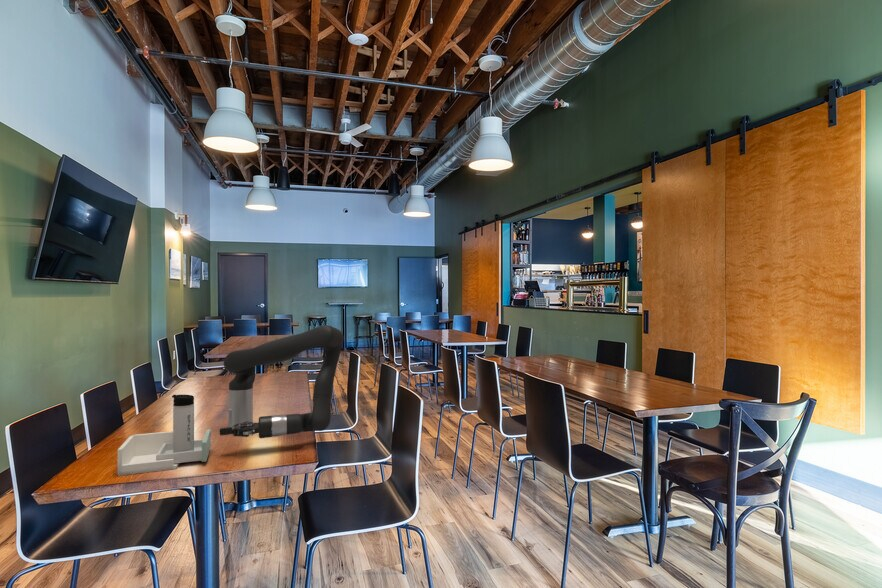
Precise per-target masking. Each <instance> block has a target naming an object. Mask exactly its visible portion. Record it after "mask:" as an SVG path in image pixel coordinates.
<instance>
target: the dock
mask: <svg viewBox="0 0 882 588" xmlns="http://www.w3.org/2000/svg"><path fill="white" fill-rule="evenodd" d="M172 442H173V430H172V431H160V432H150V433H137V434H131V435H129V437H128V438H127V439H126V440H125V441H124V442H123V443H122V445H120V447H119V448H118V449H117V470H116V471H117V472H116V473H117V477H119V476H130V475H136V474H137V475H138V474H144V473H153V472H163V471H170V470H176V469H178V467H179V465H180V463H174V459H166V460H158V461H156V455H157V453H158V452H159V450H160V448H161V447H162V445H163V444H164V443H172Z"/></svg>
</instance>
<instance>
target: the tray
mask: <svg viewBox="0 0 882 588" xmlns="http://www.w3.org/2000/svg"><path fill="white" fill-rule="evenodd" d="M211 448H212V429H211V428H210V429H209V428H208V429H206V430H205V433H204V435H203V438H202V439H194V451H186V452H177V453H173V442H172V443H164V444H163V445H162V447H161V448H160V450H159V452H158V453H157V455H156V461H158V460H166V459H174V463H179V464H180V463H190V462H198V461H201V463H204V462H205V463H206V462H207V461H208V457H209V454H210V450H211Z"/></svg>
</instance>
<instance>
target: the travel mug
mask: <svg viewBox="0 0 882 588" xmlns="http://www.w3.org/2000/svg"><path fill="white" fill-rule="evenodd" d="M171 398H172V399H173V403H172V404H173V405H172V407H173V408H172V431H173V453H177V452H186V451H194V440H195V396H194V395H193V394H172V396H171Z"/></svg>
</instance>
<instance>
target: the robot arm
mask: <svg viewBox="0 0 882 588" xmlns="http://www.w3.org/2000/svg"><path fill="white" fill-rule="evenodd" d="M343 345H344V333H343V332H342V331H341V330H340V329H339V328H336V327H334V326H332V325H329V324H322V325H319V326H317V327H314V328H312V329H309V330H307V331H304V332H301V333H297V334H293V335H289V336H283V337H281V338H278V339H273V340H271V341H267V342H266V343H265V342H264V343H262V344H260V345H257V346H255V347H251V348H245V349H244V348H243V349H237V350H233V351H230V352H229V353H227V354H226V356H225V357H224V360H223V366H224V368H225V370H226V371H228V372H229V373H231V374H232V373H233V374H235V376H234V378H233V379H232V380H231V381H230V382H229V383H228V409H227V410H228V416H227V417H228V427H227V426H226V427H221V428H219V436H228V435H229V436H230V435H232V436H233V437H240V438H248V437H249V436H253V435H255V434H258V439H265V438H267V439H268V438H274V437H280V436H281V437H282V436H287V435H294V434H299V433H303V432H316V431H317V432H318V431H319V432H320V431H321V432H322V431H325V430H326V429H327V428H328V427H329V426H330V424H331V418H332V417H331V415H332V399H333V390H334V381H335V377H336V376H335V375H336V371H337V367H338V362H339V360H340V355H341V353H342V348H343ZM313 349H324V359H323V361H322V365H321V367H320V369H319V371H318V373H317V376H316V377H315V380H314V386H313V394H312V409H311V410H312V411H311V412H307V413H291V414H273V415H272V414H271V415H266V416H265V415H263V416H259V417H258V422H254V383H255V380H256V370H257V369H256V367H257V366H265V365H266V366H267V365H270V364H271V365H272V364H278V363H282V362H286V361H289V360H293V359H295V358H296V357H298V356H299V355H300V354H301V353H303V352H305V351H307V350H308V351H309V350H313Z"/></svg>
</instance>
